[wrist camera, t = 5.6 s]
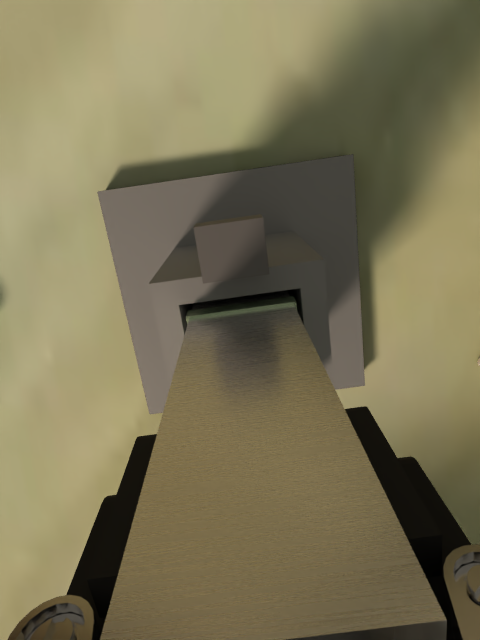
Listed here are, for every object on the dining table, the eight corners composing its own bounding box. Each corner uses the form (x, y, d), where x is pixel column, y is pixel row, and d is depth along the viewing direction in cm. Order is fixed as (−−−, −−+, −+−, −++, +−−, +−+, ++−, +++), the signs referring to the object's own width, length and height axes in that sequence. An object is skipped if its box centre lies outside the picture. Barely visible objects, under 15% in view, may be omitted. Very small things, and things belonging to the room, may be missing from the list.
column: (293, 361, 21) (472, 893, 6) (208, 372, 21) (149, 925, 6) (284, 278, 20) (485, 672, 4) (193, 290, 20) (63, 720, 4)
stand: (358, 375, 29) (431, 490, 19) (153, 402, 30) (110, 531, 19) (346, 155, 25) (433, 142, 14) (104, 190, 25) (13, 204, 14)
